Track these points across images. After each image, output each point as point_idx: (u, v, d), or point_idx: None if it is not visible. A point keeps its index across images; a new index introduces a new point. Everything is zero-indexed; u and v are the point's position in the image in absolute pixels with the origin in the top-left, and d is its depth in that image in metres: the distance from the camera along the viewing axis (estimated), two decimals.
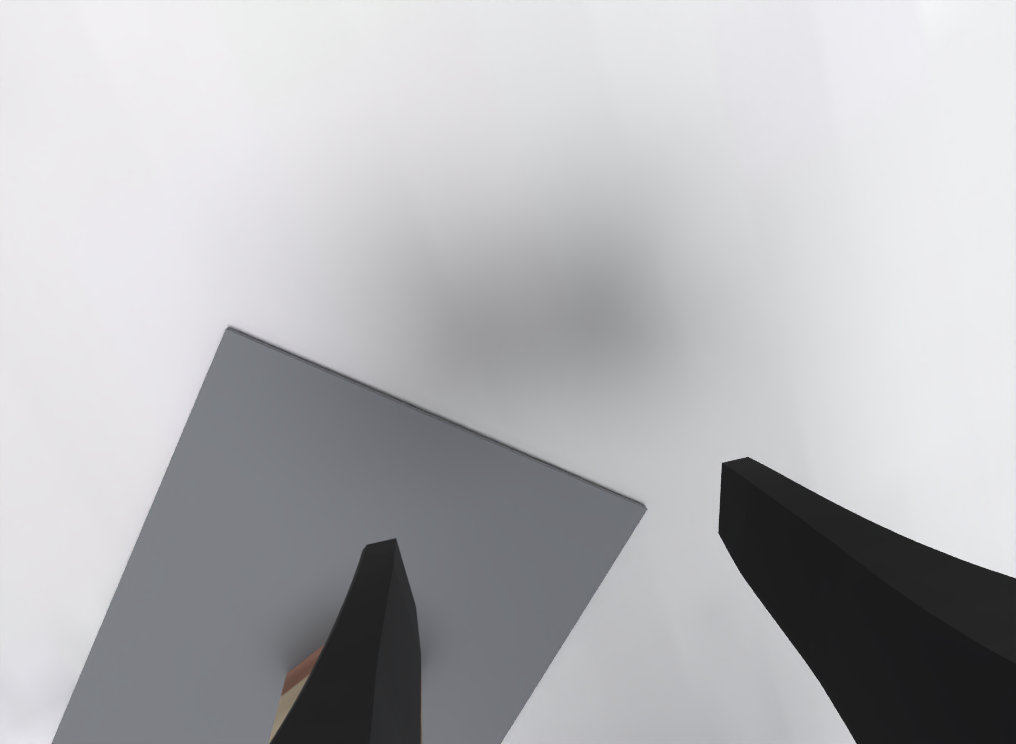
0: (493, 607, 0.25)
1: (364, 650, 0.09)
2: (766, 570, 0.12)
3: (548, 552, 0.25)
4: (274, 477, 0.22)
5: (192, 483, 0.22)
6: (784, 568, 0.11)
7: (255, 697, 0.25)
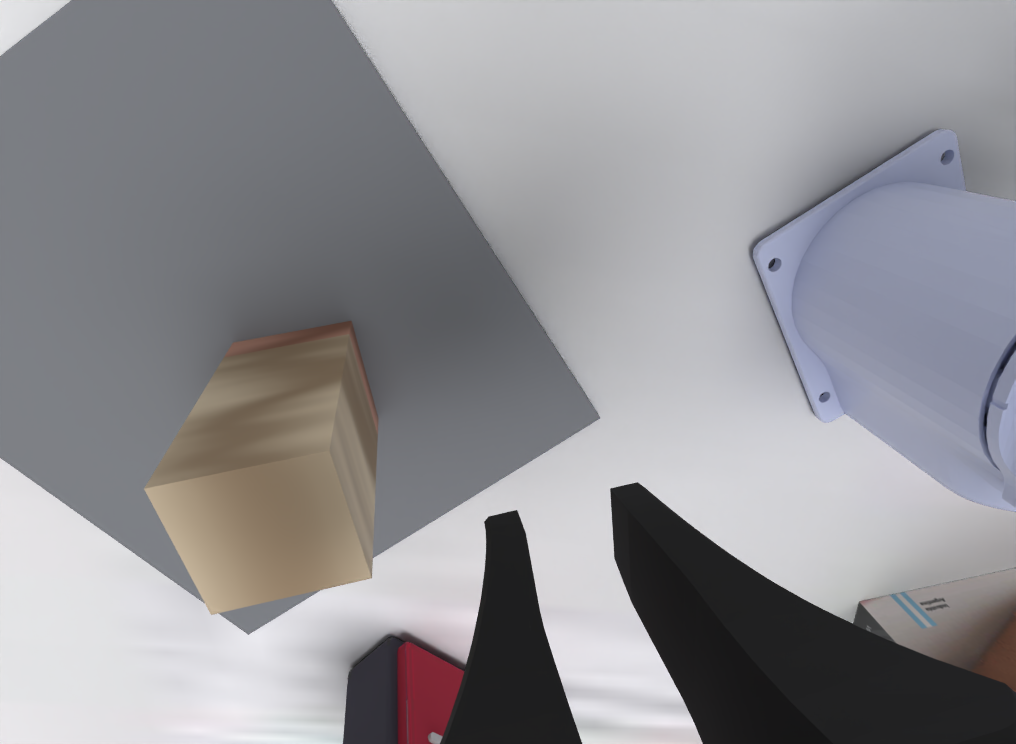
0: (304, 192, 0.18)
1: (525, 610, 0.09)
2: (647, 600, 0.11)
3: (250, 72, 0.16)
4: None
5: None
6: (658, 600, 0.11)
7: None
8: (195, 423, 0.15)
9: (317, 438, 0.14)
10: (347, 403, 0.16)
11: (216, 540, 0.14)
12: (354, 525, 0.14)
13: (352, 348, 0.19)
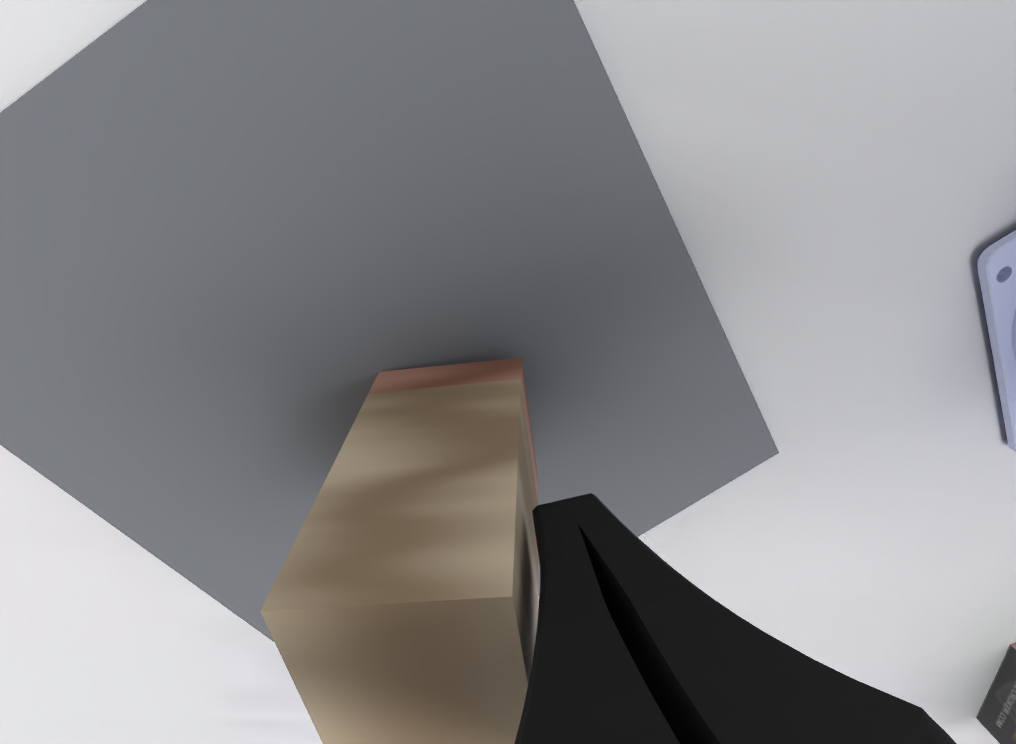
0: (484, 189, 0.15)
1: (587, 595, 0.09)
2: None
3: (439, 36, 0.13)
4: (83, 352, 0.15)
5: (53, 443, 0.15)
6: None
7: None
8: (331, 499, 0.11)
9: (493, 565, 0.09)
10: (521, 488, 0.12)
11: (345, 680, 0.10)
12: None
13: (523, 397, 0.15)
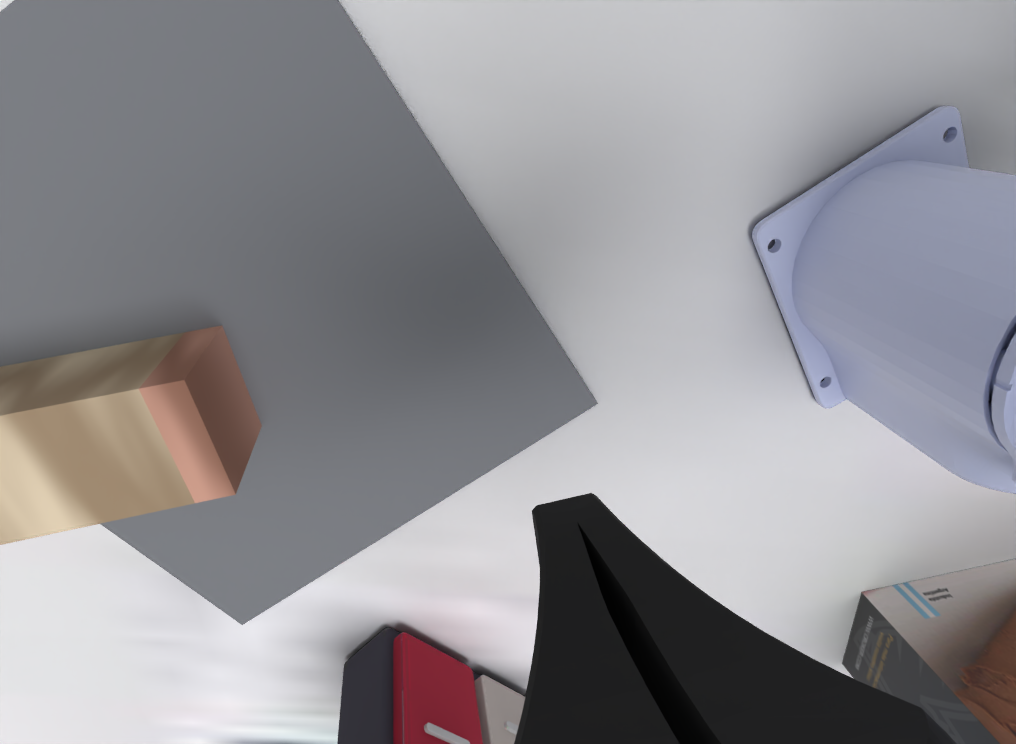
0: (293, 170, 0.18)
1: (587, 595, 0.09)
2: None
3: (237, 45, 0.16)
4: None
5: None
6: None
7: (276, 463, 0.22)
8: (45, 361, 0.19)
9: None
10: (16, 436, 0.16)
11: None
12: None
13: (139, 404, 0.16)
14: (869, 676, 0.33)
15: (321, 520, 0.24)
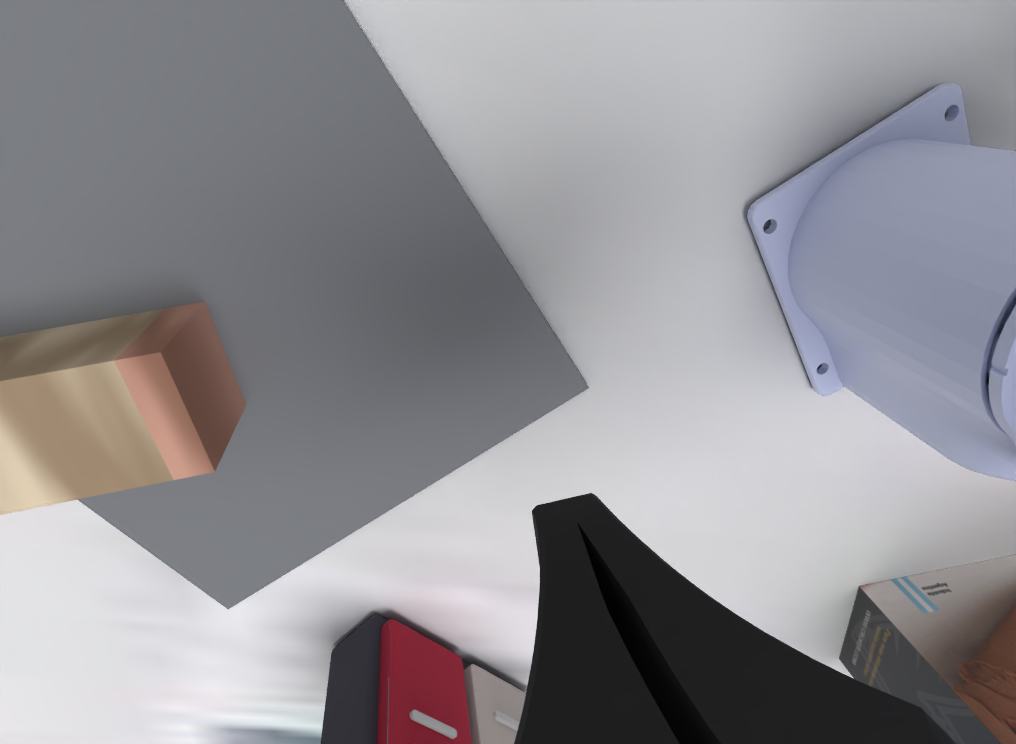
0: (276, 141, 0.17)
1: (587, 595, 0.09)
2: None
3: (217, 11, 0.16)
4: None
5: None
6: None
7: (261, 444, 0.22)
8: (25, 335, 0.18)
9: None
10: None
11: None
12: None
13: (115, 376, 0.16)
14: (866, 672, 0.32)
15: (307, 503, 0.23)
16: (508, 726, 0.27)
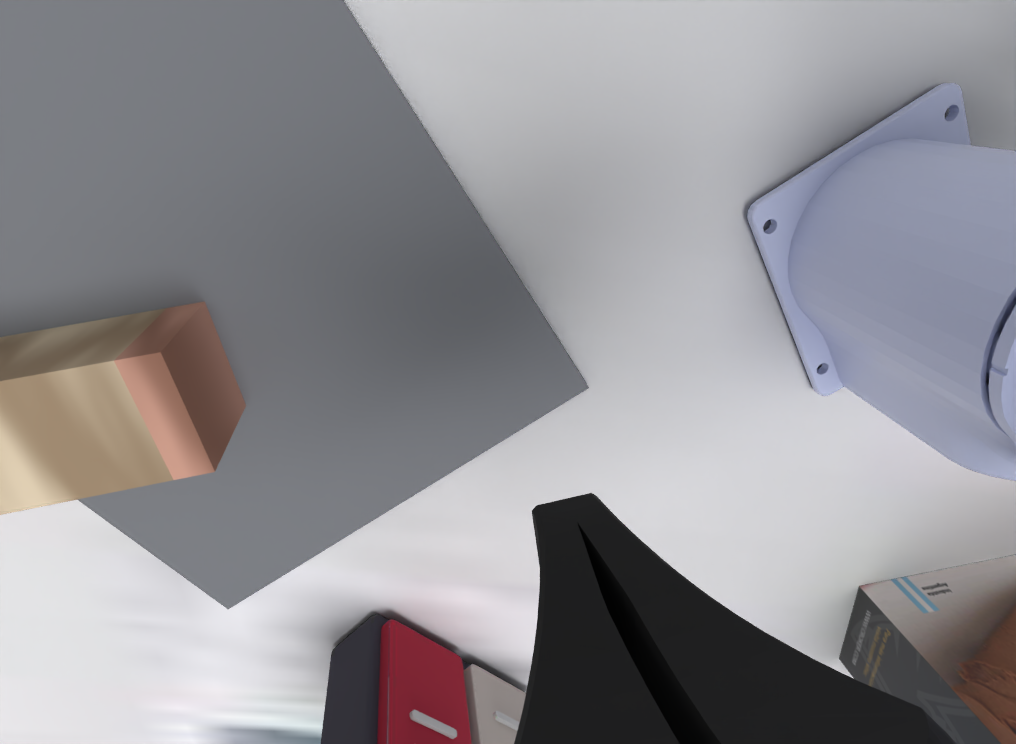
0: (276, 141, 0.17)
1: (587, 595, 0.09)
2: None
3: (217, 11, 0.16)
4: None
5: None
6: None
7: (261, 444, 0.22)
8: (25, 335, 0.18)
9: None
10: None
11: None
12: None
13: (115, 376, 0.16)
14: (866, 672, 0.32)
15: (307, 503, 0.23)
16: (508, 726, 0.27)
